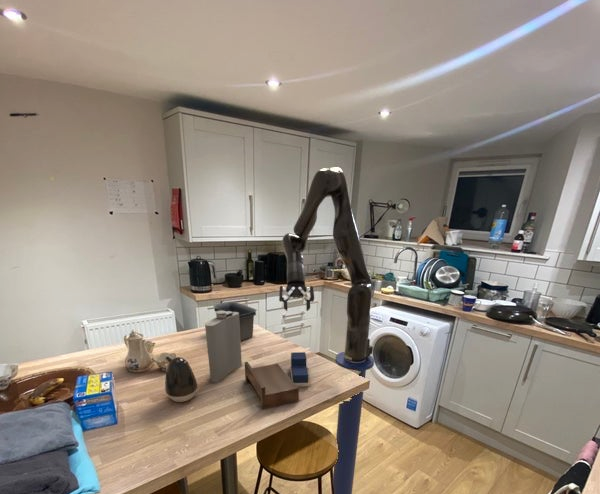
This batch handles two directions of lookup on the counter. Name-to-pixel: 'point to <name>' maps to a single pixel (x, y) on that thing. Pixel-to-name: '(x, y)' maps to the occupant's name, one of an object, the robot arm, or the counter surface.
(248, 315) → the storage bin
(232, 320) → the flask
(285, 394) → the shoe shelf
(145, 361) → the chinaware
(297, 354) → the trainer
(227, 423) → the counter surface
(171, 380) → the dark brown tall dome
